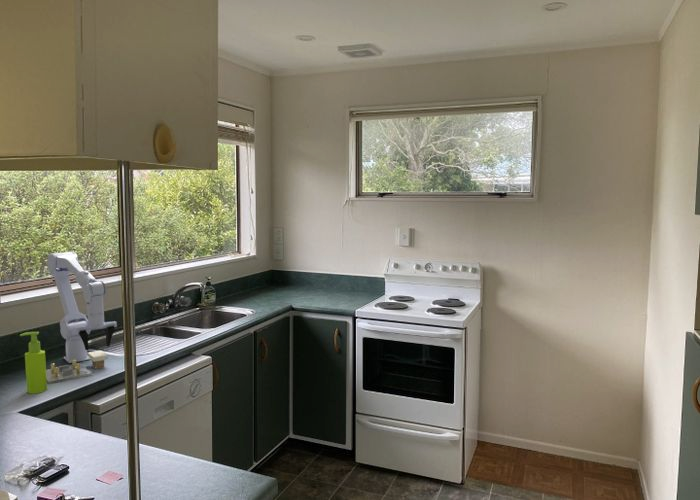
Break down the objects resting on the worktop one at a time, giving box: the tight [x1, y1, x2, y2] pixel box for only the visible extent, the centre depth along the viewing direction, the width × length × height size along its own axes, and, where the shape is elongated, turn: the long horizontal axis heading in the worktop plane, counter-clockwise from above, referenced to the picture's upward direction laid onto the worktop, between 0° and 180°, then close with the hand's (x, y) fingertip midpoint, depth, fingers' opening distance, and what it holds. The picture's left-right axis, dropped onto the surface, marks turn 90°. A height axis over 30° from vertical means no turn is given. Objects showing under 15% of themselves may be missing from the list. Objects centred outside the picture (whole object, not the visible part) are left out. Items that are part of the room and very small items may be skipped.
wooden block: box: [91, 360, 105, 369], centre depth 210 cm, size 6×3×3 cm, turn 39°
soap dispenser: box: [19, 331, 48, 395], centre depth 182 cm, size 6×7×20 cm
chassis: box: [46, 360, 93, 385], centre depth 200 cm, size 16×14×4 cm
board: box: [87, 350, 109, 362], centre depth 210 cm, size 9×5×2 cm, turn 39°
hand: (97, 347), depth 209 cm, fingers open, 7 cm apart
